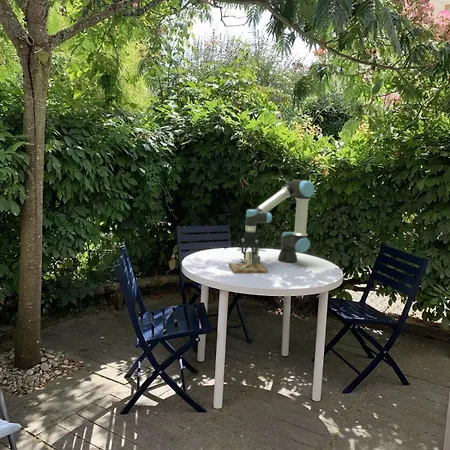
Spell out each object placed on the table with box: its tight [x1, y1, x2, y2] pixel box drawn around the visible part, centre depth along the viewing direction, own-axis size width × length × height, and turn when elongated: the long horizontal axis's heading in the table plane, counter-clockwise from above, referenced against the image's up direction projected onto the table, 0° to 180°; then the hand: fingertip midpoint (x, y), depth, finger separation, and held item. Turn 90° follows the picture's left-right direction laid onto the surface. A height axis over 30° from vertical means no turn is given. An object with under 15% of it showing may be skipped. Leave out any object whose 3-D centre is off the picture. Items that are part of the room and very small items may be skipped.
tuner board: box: [228, 262, 268, 274], centre depth 300 cm, size 24×19×2 cm
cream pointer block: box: [242, 250, 252, 268], centre depth 299 cm, size 13×3×10 cm, turn 153°
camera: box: [239, 246, 261, 263], centre depth 318 cm, size 9×12×15 cm
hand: (248, 263), depth 302 cm, fingers closed on cream pointer block, 3 cm apart
